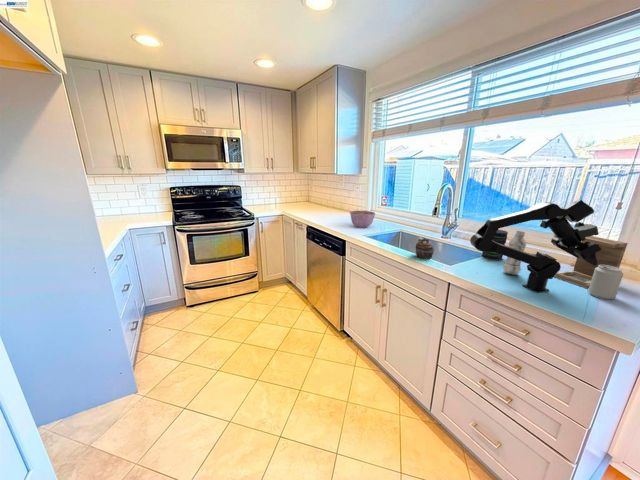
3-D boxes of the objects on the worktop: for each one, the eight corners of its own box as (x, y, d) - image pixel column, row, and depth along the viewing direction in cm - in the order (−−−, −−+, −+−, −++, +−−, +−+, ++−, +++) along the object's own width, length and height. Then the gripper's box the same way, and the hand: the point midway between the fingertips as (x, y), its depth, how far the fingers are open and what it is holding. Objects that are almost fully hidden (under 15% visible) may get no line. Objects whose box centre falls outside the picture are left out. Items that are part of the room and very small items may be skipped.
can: (586, 289, 109) (594, 262, 105) (612, 295, 104) (622, 266, 101) (588, 296, 103) (597, 267, 100) (616, 302, 98) (627, 272, 95)
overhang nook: (585, 288, 110) (599, 245, 105) (549, 275, 123) (559, 236, 118) (613, 284, 114) (627, 243, 109) (575, 272, 127) (586, 234, 122)
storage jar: (505, 258, 145) (511, 231, 141) (497, 261, 140) (503, 234, 136) (486, 253, 153) (491, 228, 149) (477, 256, 148) (482, 230, 144)
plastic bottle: (500, 273, 124) (510, 231, 118) (503, 269, 128) (512, 229, 123) (517, 277, 119) (528, 234, 114) (520, 273, 124) (529, 232, 119)
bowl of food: (344, 226, 216) (344, 212, 213) (359, 223, 229) (360, 209, 226) (363, 230, 202) (364, 215, 199) (379, 227, 215) (380, 213, 212)
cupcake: (426, 261, 139) (429, 242, 136) (410, 256, 146) (412, 238, 143) (436, 257, 144) (439, 240, 141) (421, 253, 152) (423, 236, 149)
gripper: (604, 221, 90) (631, 256, 90) (568, 212, 107) (591, 242, 108) (570, 241, 93) (596, 274, 94) (540, 229, 111) (563, 257, 112)
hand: (586, 261), depth 102 cm, fingers open, 9 cm apart
